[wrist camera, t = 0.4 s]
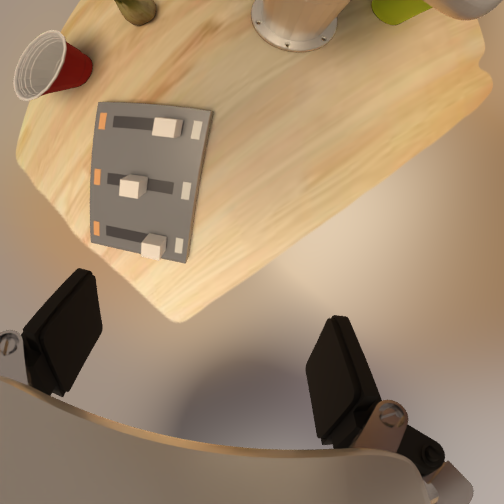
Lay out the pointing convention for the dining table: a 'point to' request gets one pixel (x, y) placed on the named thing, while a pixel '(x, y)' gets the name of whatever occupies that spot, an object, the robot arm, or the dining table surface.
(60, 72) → the plastic cup
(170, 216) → the switch panel
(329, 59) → the dining table surface
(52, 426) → the robot arm
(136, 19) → the fennel bulb
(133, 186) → the switch
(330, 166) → the dining table surface
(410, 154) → the dining table surface
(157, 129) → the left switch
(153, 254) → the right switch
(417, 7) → the soap dispenser
